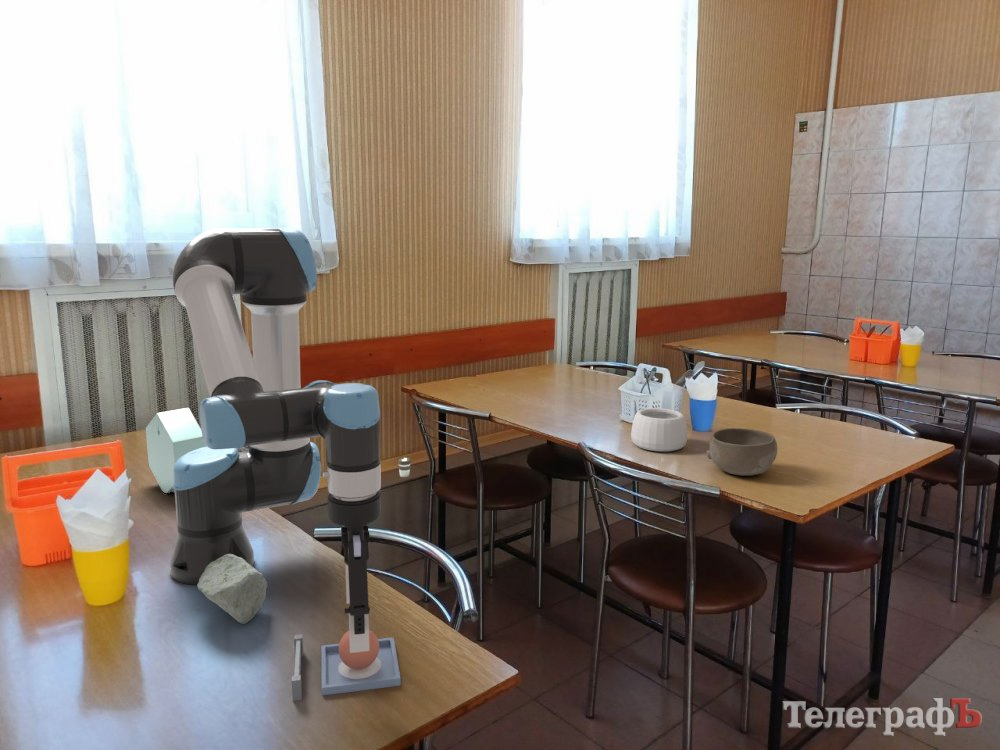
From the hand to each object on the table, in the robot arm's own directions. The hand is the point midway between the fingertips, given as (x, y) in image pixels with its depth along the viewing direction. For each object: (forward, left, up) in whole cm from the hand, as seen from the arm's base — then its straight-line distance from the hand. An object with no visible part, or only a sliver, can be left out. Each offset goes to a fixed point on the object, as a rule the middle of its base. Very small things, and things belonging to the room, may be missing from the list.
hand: (357, 625), depth 114 cm
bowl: (-72, +106, -7) cm, 128 cm away
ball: (+1, 0, -7) cm, 7 cm away
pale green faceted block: (-86, -40, -7) cm, 94 cm away
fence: (0, -9, -7) cm, 11 cm away
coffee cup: (-86, +16, -8) cm, 88 cm away
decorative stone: (-20, -20, -7) cm, 29 cm away
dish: (0, 0, -7) cm, 7 cm away
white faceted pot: (-101, +94, -7) cm, 138 cm away
